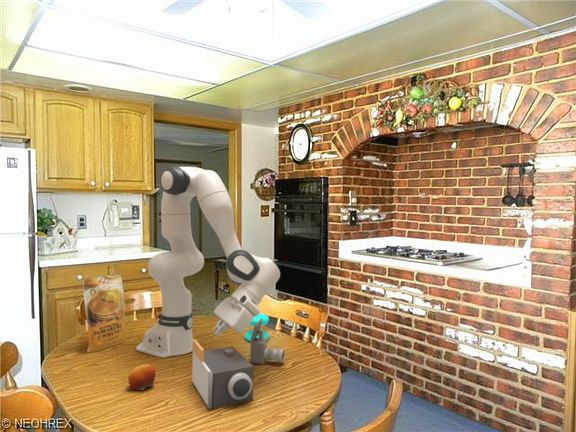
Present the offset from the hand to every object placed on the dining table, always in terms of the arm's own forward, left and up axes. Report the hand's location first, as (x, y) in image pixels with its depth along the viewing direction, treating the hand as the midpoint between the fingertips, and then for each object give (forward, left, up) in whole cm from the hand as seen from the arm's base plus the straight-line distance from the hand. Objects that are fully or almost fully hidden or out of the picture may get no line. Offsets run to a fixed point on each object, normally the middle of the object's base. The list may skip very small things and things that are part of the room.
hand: (215, 333), depth 128 cm
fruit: (-20, -10, -16) cm, 27 cm away
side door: (+1, -9, -15) cm, 18 cm away
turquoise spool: (-3, +43, -16) cm, 46 cm away
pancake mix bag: (-56, +14, -16) cm, 59 cm away
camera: (+10, +21, -16) cm, 28 cm away
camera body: (+6, -5, -16) cm, 18 cm away
